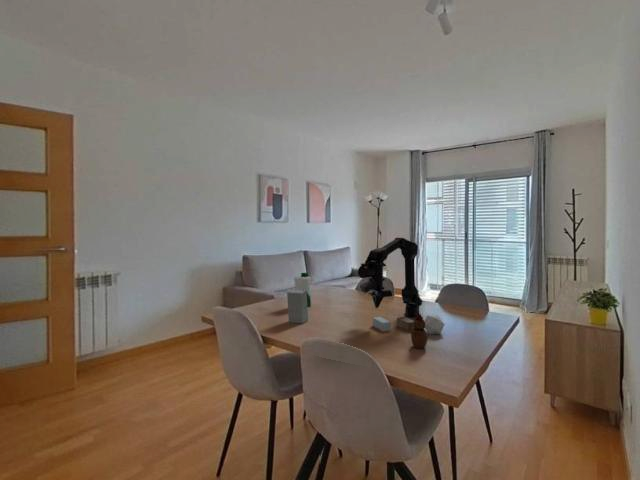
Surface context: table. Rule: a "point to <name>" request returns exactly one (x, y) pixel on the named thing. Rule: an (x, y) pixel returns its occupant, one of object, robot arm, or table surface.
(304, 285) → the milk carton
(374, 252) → the robot arm
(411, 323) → the walnut block
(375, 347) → the table surface
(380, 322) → the blue-grey block
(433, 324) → the die
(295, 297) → the skincare box
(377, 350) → the table surface
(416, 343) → the wooden figurine
